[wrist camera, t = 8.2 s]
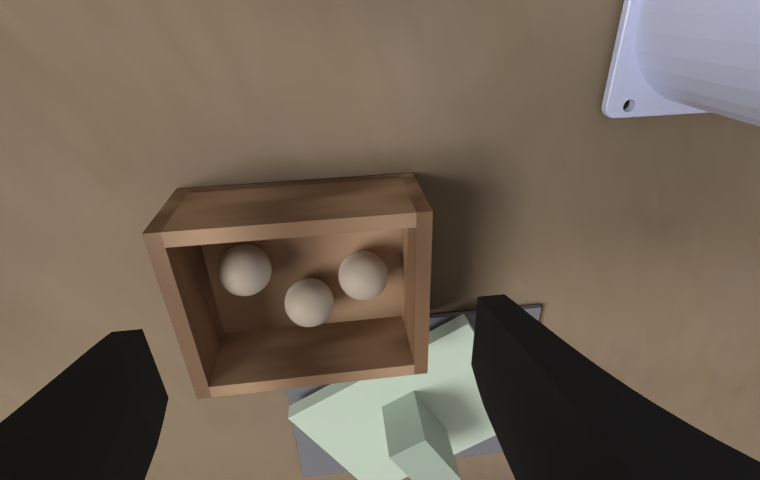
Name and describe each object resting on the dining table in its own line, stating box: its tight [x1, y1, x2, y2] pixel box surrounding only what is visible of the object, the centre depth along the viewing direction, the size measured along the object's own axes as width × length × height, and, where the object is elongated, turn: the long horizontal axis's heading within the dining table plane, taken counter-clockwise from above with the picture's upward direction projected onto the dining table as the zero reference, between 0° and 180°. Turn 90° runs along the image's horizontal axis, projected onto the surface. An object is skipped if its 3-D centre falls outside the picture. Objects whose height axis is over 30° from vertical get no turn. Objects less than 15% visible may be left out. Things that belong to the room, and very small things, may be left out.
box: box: [142, 173, 433, 399], centre depth 19 cm, size 10×8×4 cm
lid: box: [288, 314, 496, 480], centre depth 24 cm, size 11×9×4 cm
